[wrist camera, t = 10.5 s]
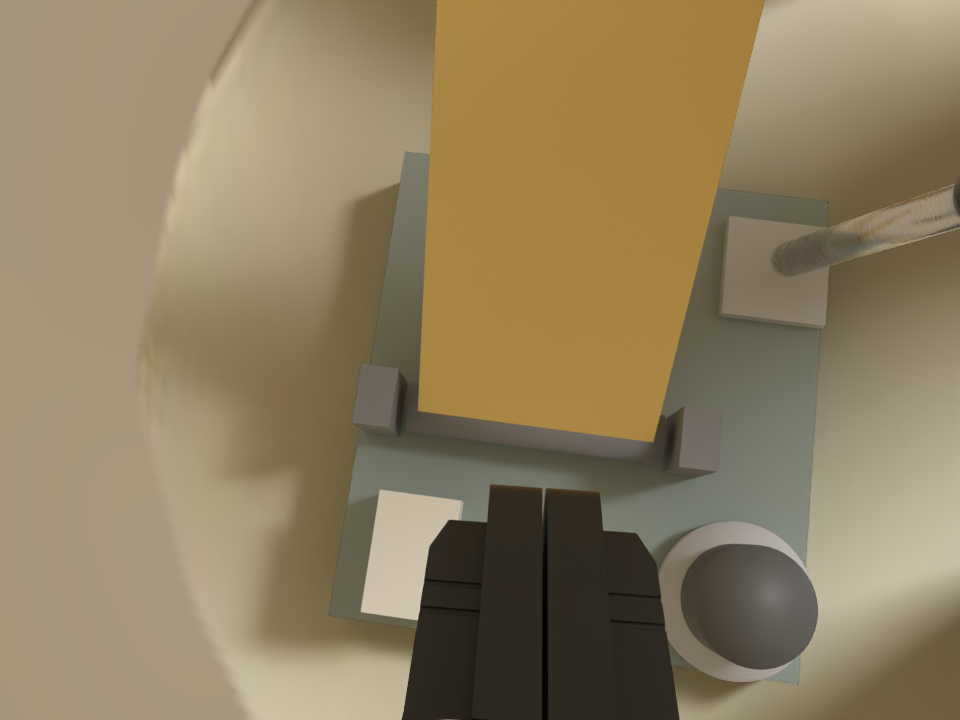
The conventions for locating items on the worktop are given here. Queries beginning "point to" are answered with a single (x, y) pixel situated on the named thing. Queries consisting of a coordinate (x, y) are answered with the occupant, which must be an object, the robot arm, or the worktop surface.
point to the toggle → (871, 232)
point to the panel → (623, 484)
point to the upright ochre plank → (570, 213)
